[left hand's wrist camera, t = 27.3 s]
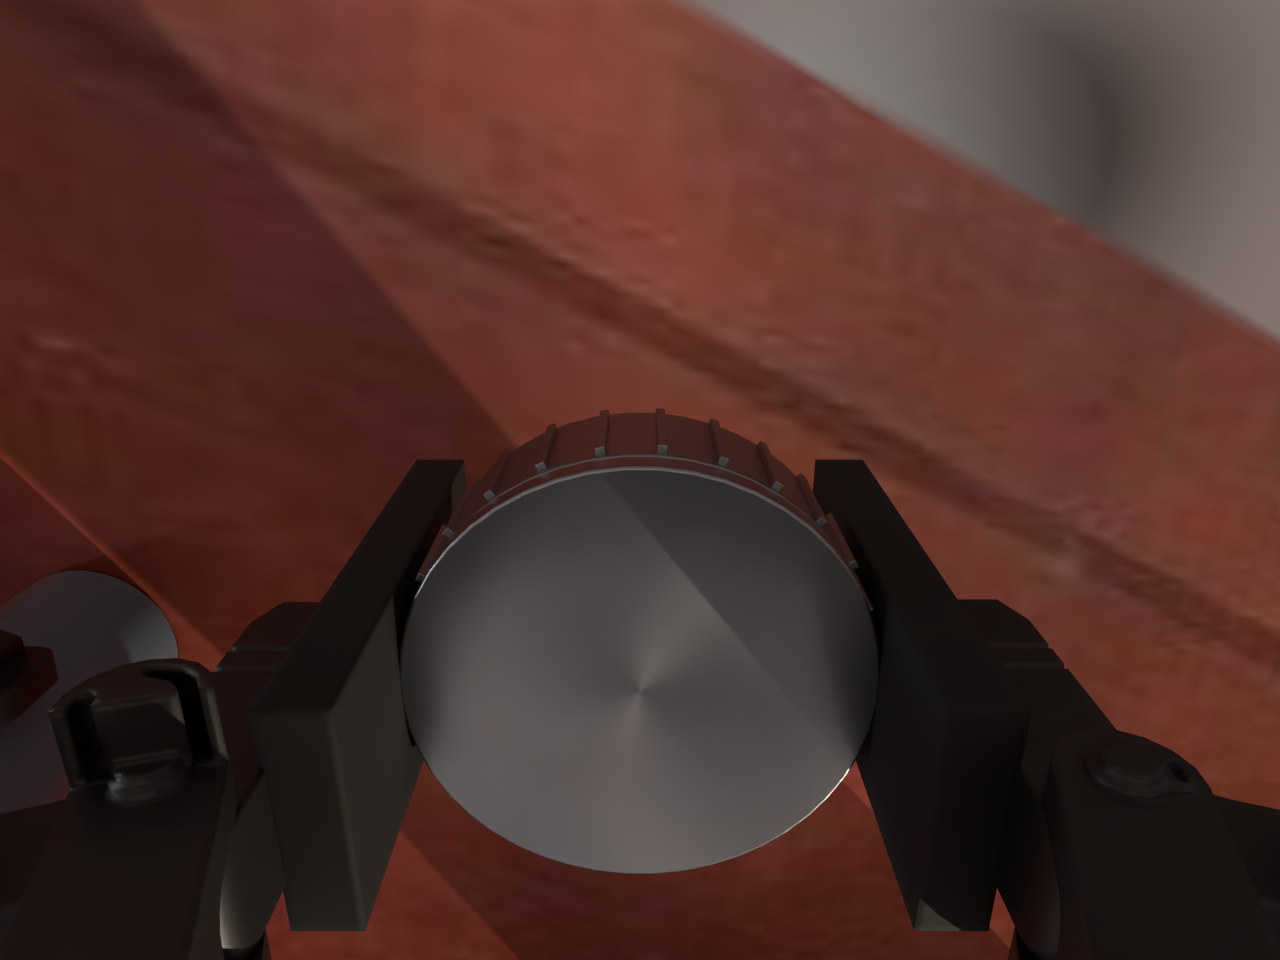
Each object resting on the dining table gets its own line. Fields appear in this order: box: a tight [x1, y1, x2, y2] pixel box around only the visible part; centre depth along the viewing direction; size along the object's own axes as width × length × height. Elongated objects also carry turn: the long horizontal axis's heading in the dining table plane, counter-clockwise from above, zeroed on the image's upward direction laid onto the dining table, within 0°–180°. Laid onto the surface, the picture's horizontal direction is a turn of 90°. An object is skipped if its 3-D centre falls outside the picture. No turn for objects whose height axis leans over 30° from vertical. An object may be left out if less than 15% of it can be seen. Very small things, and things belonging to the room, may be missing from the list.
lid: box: [399, 408, 880, 874], centre depth 11 cm, size 6×6×2 cm
